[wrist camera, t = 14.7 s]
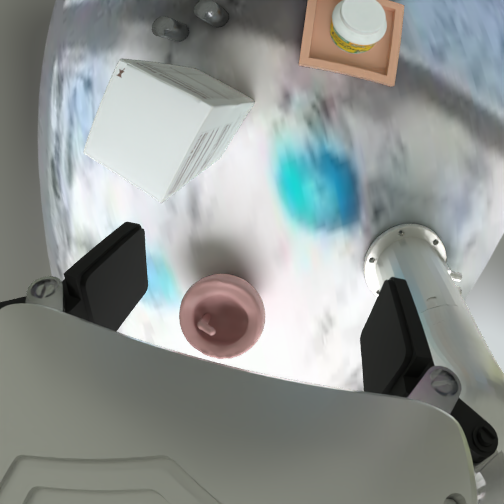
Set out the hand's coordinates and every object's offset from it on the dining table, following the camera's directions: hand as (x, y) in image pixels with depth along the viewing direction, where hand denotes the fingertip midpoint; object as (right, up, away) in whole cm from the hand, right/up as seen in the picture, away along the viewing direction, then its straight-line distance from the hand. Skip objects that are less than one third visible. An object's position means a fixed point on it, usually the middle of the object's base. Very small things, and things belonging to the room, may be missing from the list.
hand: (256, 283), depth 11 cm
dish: (+11, +26, +16) cm, 33 cm away
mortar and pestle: (-3, -5, +37) cm, 37 cm away
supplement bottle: (+11, +26, +16) cm, 32 cm away
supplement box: (-6, +19, +24) cm, 31 cm away
